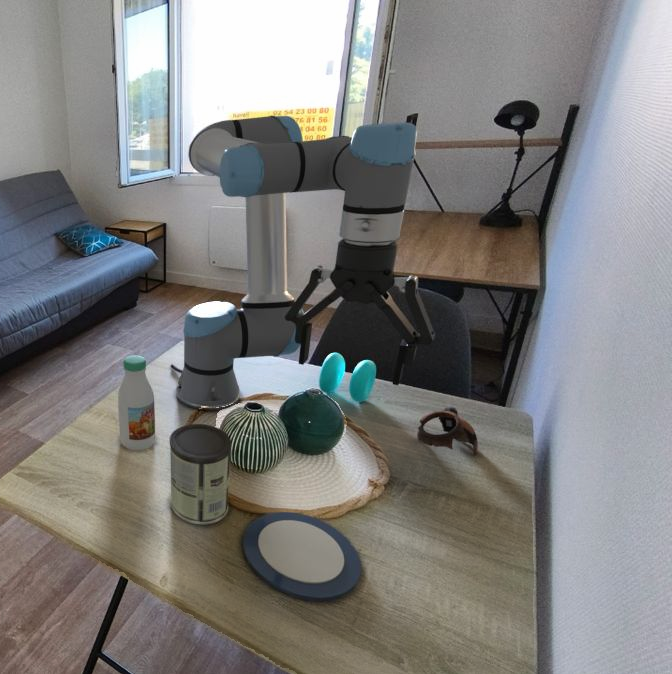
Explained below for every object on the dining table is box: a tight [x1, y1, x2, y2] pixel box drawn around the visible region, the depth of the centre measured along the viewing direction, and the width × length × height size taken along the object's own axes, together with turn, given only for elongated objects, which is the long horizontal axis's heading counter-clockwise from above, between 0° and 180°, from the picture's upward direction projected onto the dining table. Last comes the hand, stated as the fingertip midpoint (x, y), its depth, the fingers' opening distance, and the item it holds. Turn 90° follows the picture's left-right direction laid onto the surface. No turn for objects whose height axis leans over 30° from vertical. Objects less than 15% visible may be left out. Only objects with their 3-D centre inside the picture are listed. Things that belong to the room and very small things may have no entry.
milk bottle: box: [117, 355, 156, 451], centre depth 107 cm, size 8×8×20 cm
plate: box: [242, 511, 362, 602], centre depth 80 cm, size 17×17×1 cm
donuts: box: [318, 352, 377, 403], centre depth 119 cm, size 10×10×10 cm
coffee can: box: [169, 423, 233, 526], centre depth 89 cm, size 10×10×14 cm
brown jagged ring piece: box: [416, 406, 479, 456], centre depth 101 cm, size 12×10×8 cm
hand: (347, 370), depth 81 cm, fingers open, 13 cm apart
